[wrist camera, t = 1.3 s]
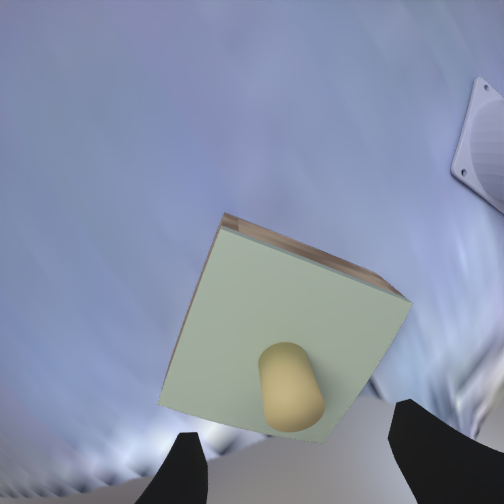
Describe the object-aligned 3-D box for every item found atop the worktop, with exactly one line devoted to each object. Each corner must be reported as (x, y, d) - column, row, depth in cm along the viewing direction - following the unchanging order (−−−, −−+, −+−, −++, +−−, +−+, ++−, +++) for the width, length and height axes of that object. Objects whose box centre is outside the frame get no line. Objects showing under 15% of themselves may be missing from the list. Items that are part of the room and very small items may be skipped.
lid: (406, 297, 15) (451, 336, 11) (319, 435, 18) (335, 487, 13) (221, 225, 14) (215, 251, 10) (160, 395, 16) (144, 452, 12)
